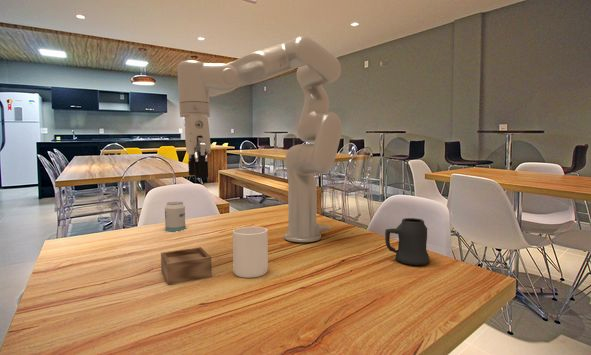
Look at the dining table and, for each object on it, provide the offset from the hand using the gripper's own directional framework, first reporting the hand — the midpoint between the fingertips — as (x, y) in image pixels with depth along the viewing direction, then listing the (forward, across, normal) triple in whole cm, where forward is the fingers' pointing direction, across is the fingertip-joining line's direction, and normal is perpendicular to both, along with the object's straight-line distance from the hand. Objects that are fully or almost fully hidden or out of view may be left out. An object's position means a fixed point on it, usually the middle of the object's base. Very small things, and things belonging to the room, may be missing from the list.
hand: (198, 176), depth 88 cm
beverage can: (+24, +38, +3) cm, 45 cm away
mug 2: (+25, -22, -52) cm, 62 cm away
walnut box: (+24, -6, +5) cm, 25 cm away
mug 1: (+24, -11, -10) cm, 28 cm away
